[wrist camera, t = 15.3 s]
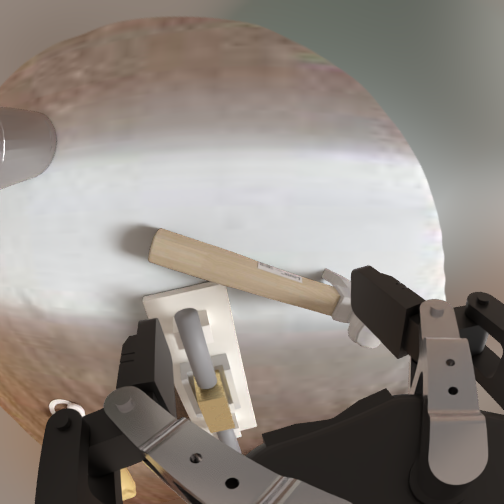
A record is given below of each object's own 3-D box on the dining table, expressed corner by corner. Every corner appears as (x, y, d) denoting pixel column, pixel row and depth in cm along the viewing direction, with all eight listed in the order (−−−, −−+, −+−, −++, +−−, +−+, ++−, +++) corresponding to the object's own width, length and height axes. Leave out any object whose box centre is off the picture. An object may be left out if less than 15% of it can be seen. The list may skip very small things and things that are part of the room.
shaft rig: (199, 434, 55) (204, 466, 48) (143, 296, 42) (138, 329, 35) (255, 421, 57) (266, 452, 50) (223, 278, 45) (235, 308, 37)
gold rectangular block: (205, 406, 48) (210, 433, 42) (193, 375, 44) (197, 402, 39) (228, 401, 48) (235, 427, 43) (218, 369, 45) (225, 396, 40)
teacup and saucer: (80, 397, 46) (76, 412, 43) (95, 423, 49) (93, 438, 46) (43, 397, 45) (38, 411, 41) (59, 422, 48) (56, 437, 44)
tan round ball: (107, 477, 56) (106, 511, 46) (75, 455, 51) (71, 491, 42) (141, 470, 57) (143, 506, 47) (110, 447, 52) (108, 487, 42)
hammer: (131, 283, 31) (377, 354, 35) (139, 242, 30) (395, 322, 34) (165, 244, 47) (343, 301, 50) (173, 216, 45) (354, 276, 49)
